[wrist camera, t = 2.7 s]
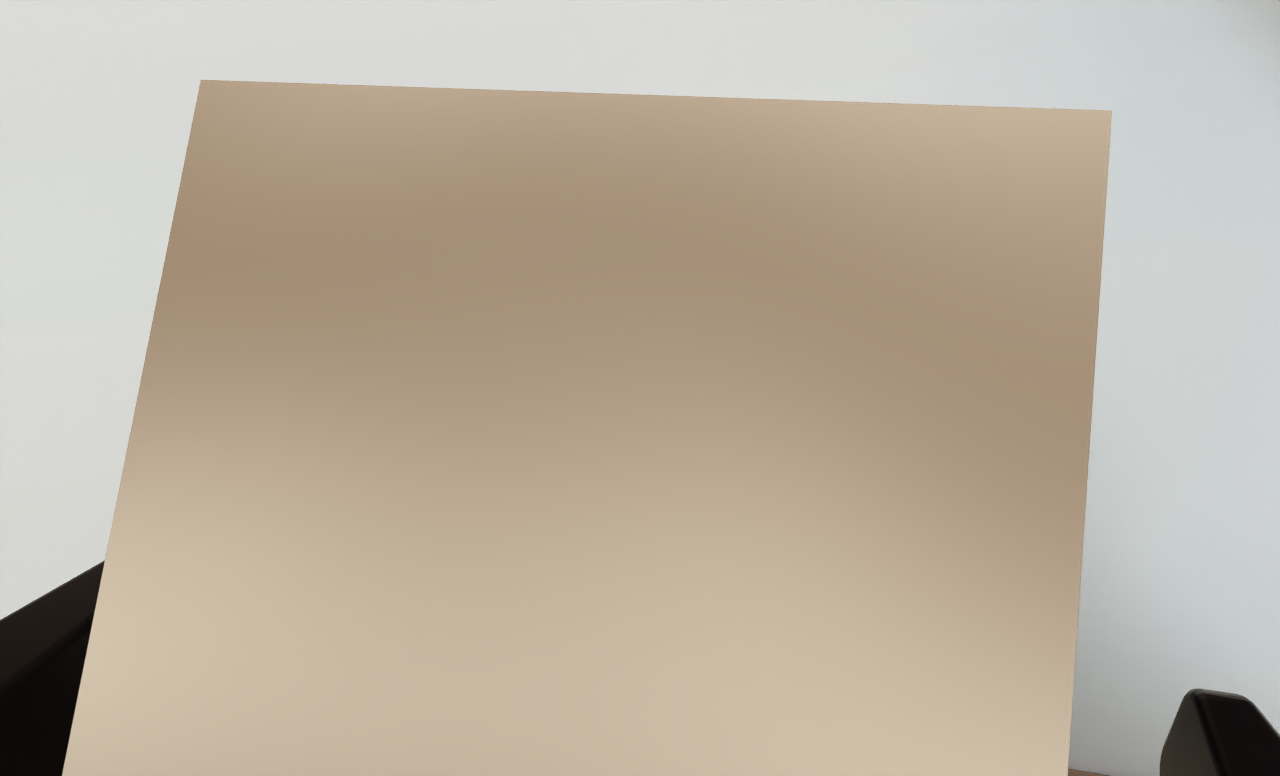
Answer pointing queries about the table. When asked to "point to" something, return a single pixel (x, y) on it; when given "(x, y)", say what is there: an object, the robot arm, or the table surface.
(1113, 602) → the table surface
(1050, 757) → the frame block
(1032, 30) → the table surface
